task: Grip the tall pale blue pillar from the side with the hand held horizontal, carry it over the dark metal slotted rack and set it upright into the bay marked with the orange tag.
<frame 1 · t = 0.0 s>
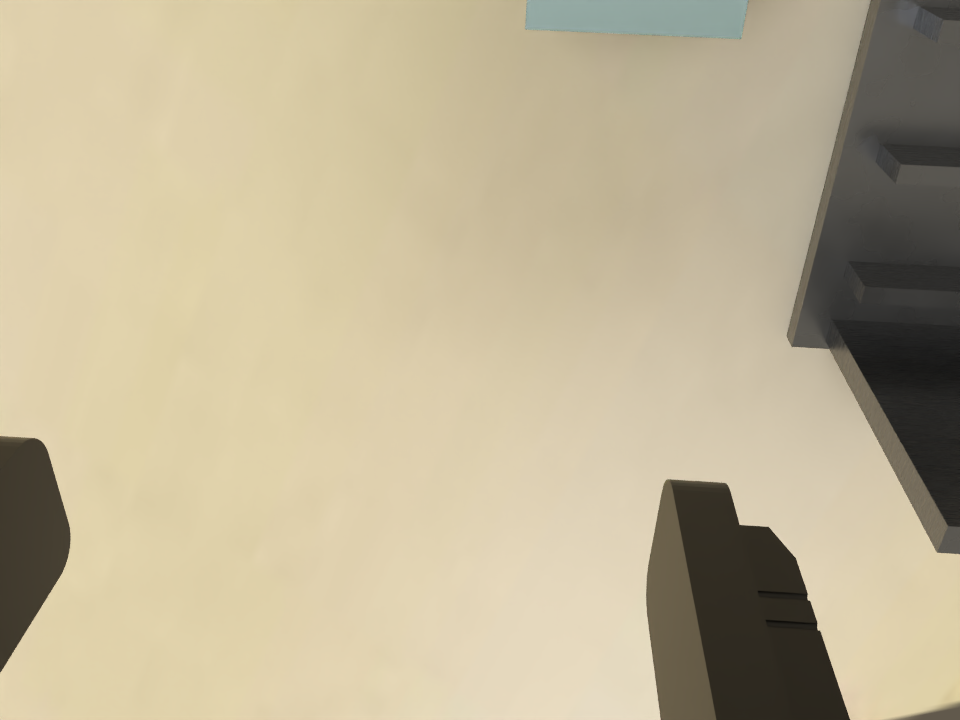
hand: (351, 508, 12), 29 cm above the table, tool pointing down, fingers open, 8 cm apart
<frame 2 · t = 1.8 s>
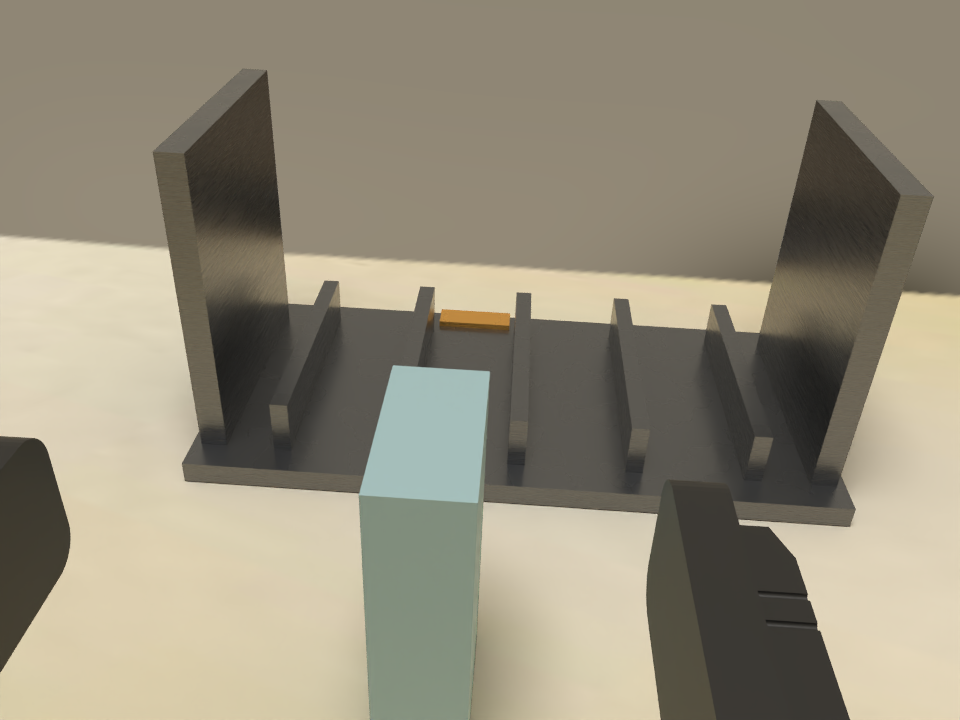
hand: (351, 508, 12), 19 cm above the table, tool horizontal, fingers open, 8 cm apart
rack: (517, 406, 46), on the table
tall pale blue pillar: (428, 699, 31), on the table
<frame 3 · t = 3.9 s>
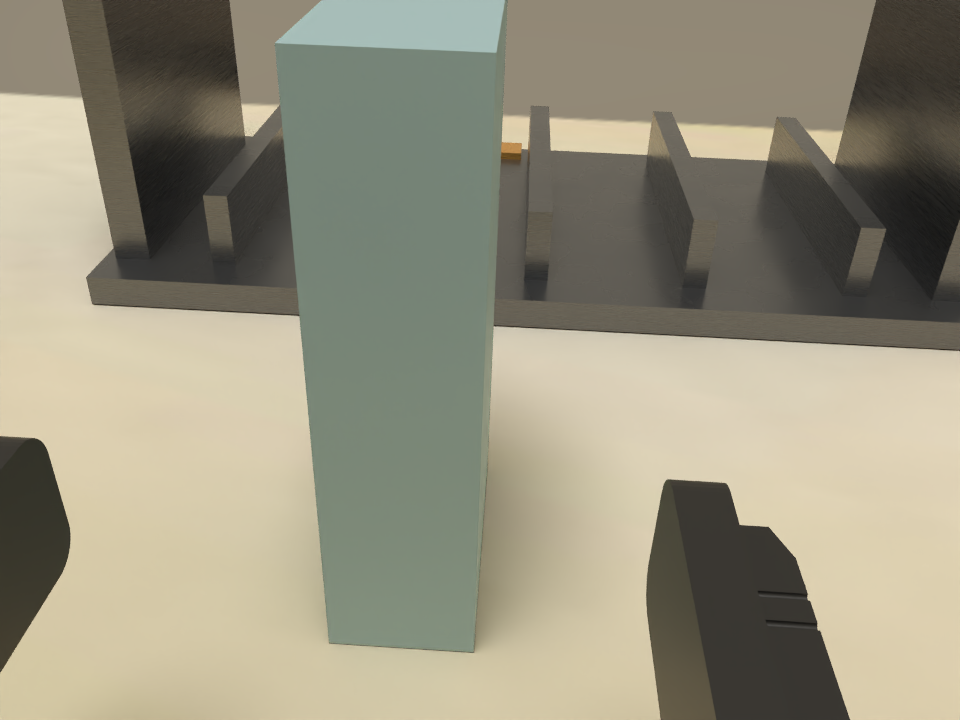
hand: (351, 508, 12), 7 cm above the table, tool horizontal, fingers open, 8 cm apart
rack: (534, 234, 36), on the table
tall pale blue pillar: (417, 545, 21), on the table
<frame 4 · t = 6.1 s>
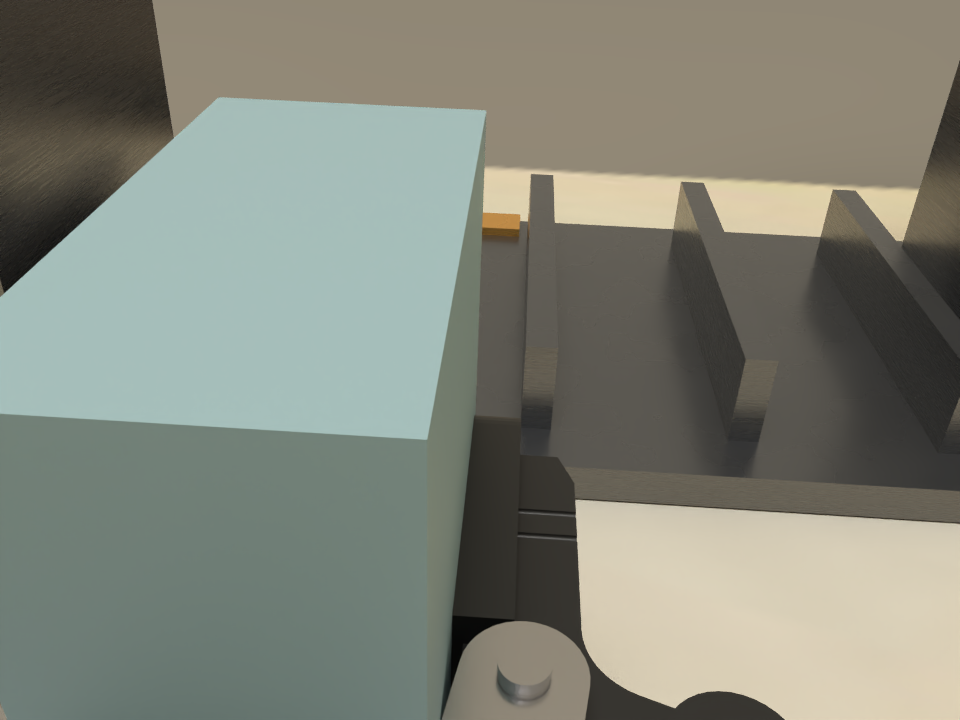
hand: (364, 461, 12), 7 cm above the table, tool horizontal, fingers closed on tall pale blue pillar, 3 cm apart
rack: (534, 343, 29), on the table
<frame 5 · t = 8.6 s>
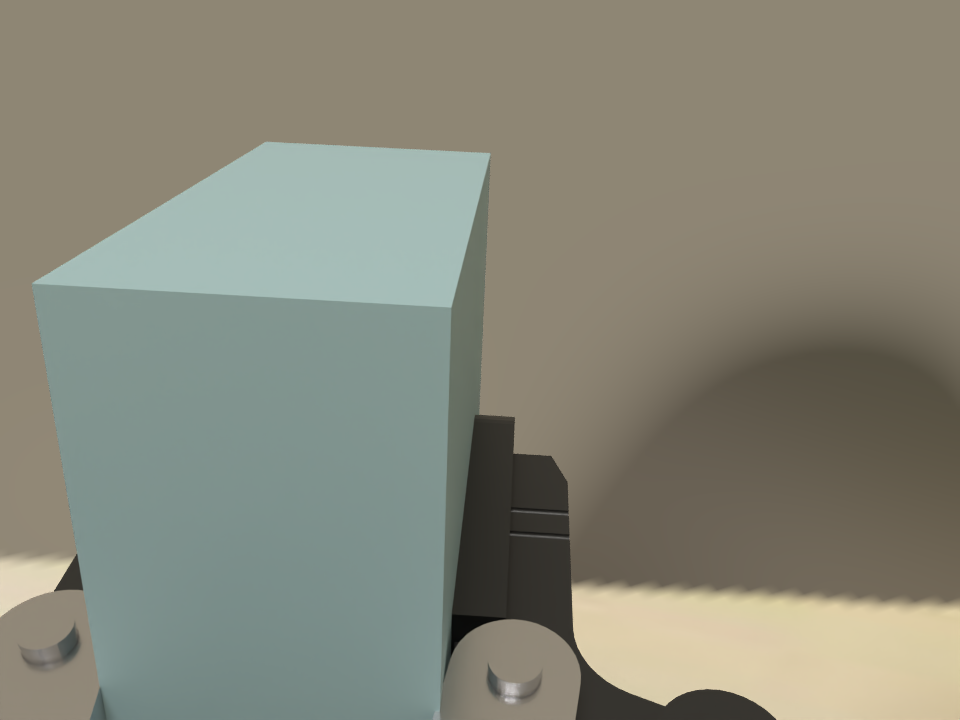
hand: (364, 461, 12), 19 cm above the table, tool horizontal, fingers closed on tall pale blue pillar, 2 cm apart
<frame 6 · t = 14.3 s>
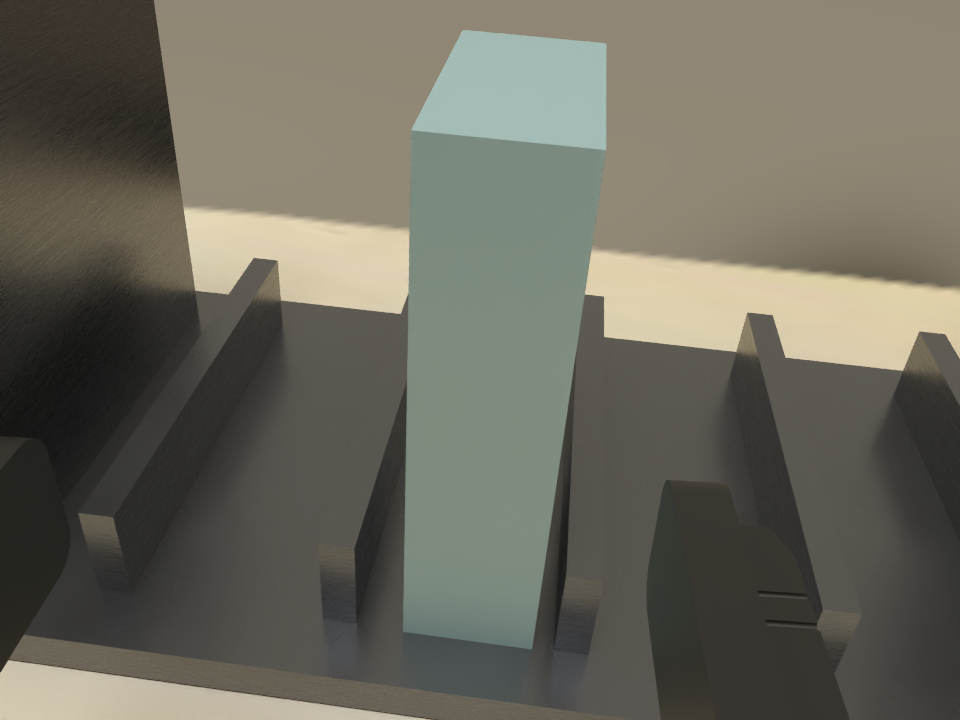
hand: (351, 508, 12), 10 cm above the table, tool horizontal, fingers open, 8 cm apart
rack: (573, 502, 26), on the table
tall pale blue pillar: (482, 545, 23), point 1 cm above the table, touching rack
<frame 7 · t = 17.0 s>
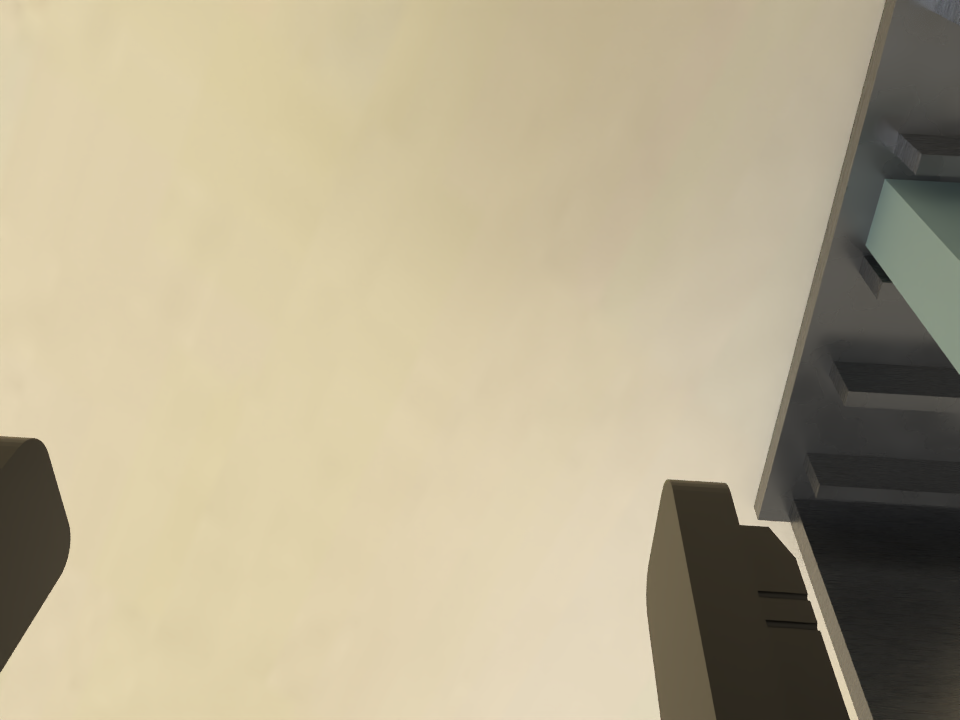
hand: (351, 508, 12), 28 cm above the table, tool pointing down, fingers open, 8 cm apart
tall pale blue pillar: (947, 216, 37), point 1 cm above the table, touching rack
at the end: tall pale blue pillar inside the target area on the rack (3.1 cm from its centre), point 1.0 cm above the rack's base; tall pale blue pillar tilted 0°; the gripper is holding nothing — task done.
